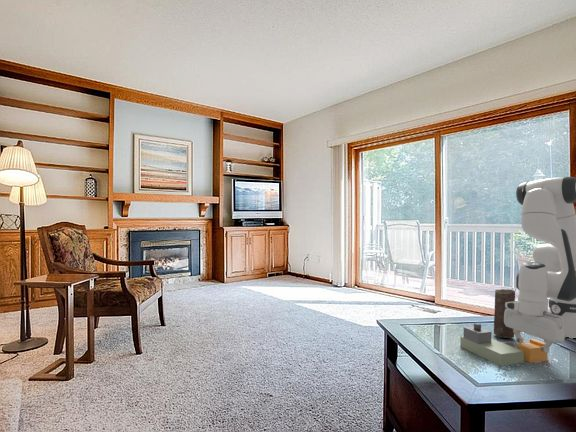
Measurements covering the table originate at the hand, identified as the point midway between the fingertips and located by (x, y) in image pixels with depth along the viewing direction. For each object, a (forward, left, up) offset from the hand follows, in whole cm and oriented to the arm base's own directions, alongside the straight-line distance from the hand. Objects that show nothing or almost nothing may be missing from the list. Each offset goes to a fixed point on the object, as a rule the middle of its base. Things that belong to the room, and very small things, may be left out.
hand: (531, 347), depth 124 cm
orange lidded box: (0, 0, -4) cm, 4 cm away
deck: (+6, -7, -4) cm, 10 cm away
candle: (-10, -20, -4) cm, 22 cm away
